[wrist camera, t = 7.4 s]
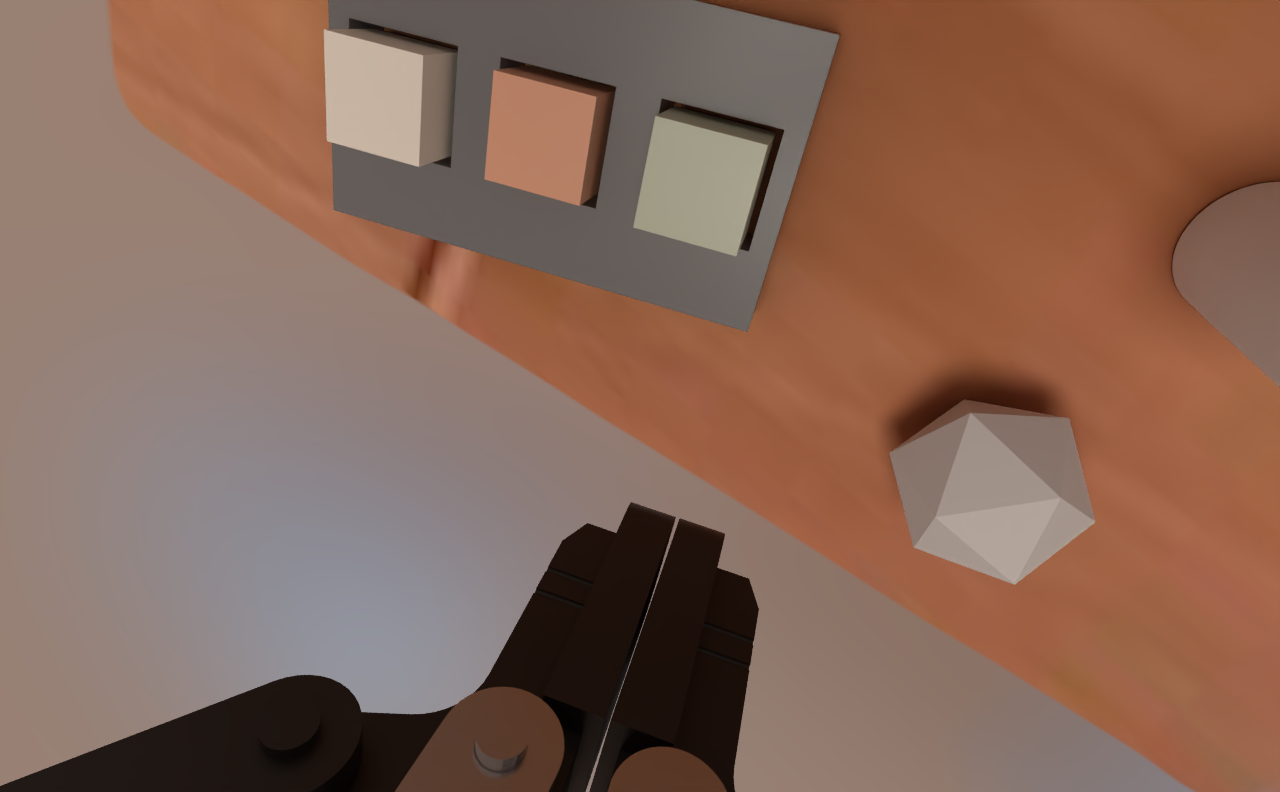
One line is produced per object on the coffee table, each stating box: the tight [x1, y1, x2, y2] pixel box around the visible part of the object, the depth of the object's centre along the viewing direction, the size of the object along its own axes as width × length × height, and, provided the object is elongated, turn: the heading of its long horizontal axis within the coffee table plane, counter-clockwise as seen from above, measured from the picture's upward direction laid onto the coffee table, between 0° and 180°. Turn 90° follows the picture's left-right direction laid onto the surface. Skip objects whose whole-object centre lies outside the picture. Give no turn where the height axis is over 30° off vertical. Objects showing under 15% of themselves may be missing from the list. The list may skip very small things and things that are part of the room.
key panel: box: [328, 0, 840, 332], centre depth 36 cm, size 14×24×3 cm, turn 78°
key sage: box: [633, 106, 776, 256], centre depth 33 cm, size 5×5×4 cm
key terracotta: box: [484, 65, 616, 206], centre depth 35 cm, size 5×5×4 cm
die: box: [889, 399, 1095, 585], centre depth 36 cm, size 8×9×10 cm
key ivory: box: [324, 29, 458, 167], centre depth 35 cm, size 5×5×4 cm
